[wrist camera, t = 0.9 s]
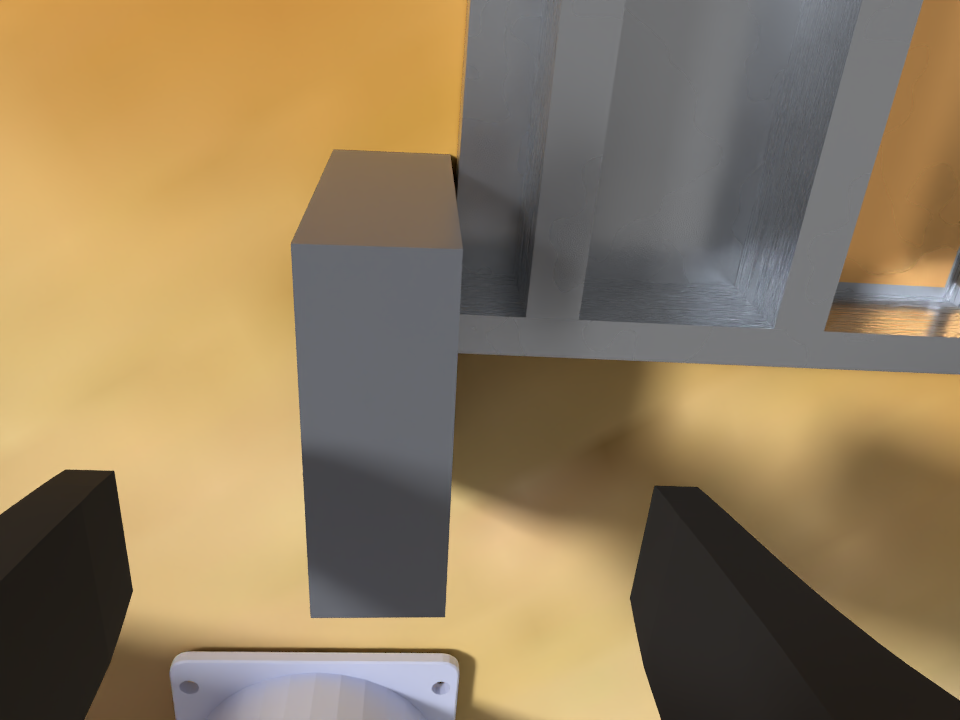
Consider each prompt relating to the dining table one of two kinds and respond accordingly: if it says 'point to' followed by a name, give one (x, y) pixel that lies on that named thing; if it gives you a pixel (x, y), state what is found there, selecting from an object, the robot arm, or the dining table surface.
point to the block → (378, 381)
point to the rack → (712, 182)
